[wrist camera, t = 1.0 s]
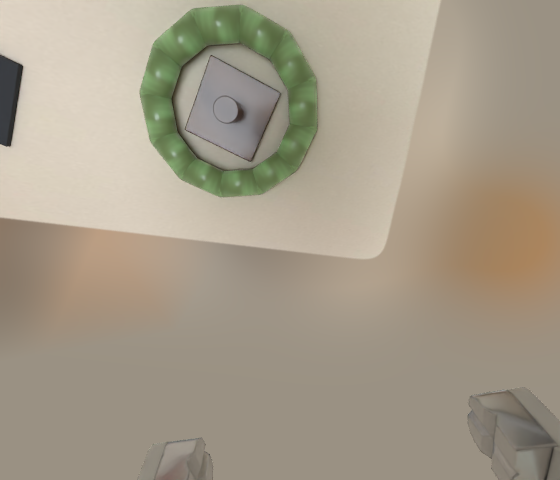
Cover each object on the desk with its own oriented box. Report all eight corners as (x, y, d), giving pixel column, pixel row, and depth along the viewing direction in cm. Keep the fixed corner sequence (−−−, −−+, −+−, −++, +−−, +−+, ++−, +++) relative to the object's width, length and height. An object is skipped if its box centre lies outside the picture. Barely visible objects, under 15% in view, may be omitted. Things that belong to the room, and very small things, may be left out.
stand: (212, 56, 31) (200, 43, 26) (280, 93, 33) (282, 88, 27) (186, 129, 34) (171, 130, 29) (251, 161, 35) (247, 167, 30)
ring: (181, -27, 29) (171, -44, 26) (345, 69, 32) (352, 63, 29) (129, 151, 34) (116, 154, 32) (272, 217, 38) (271, 224, 35)
